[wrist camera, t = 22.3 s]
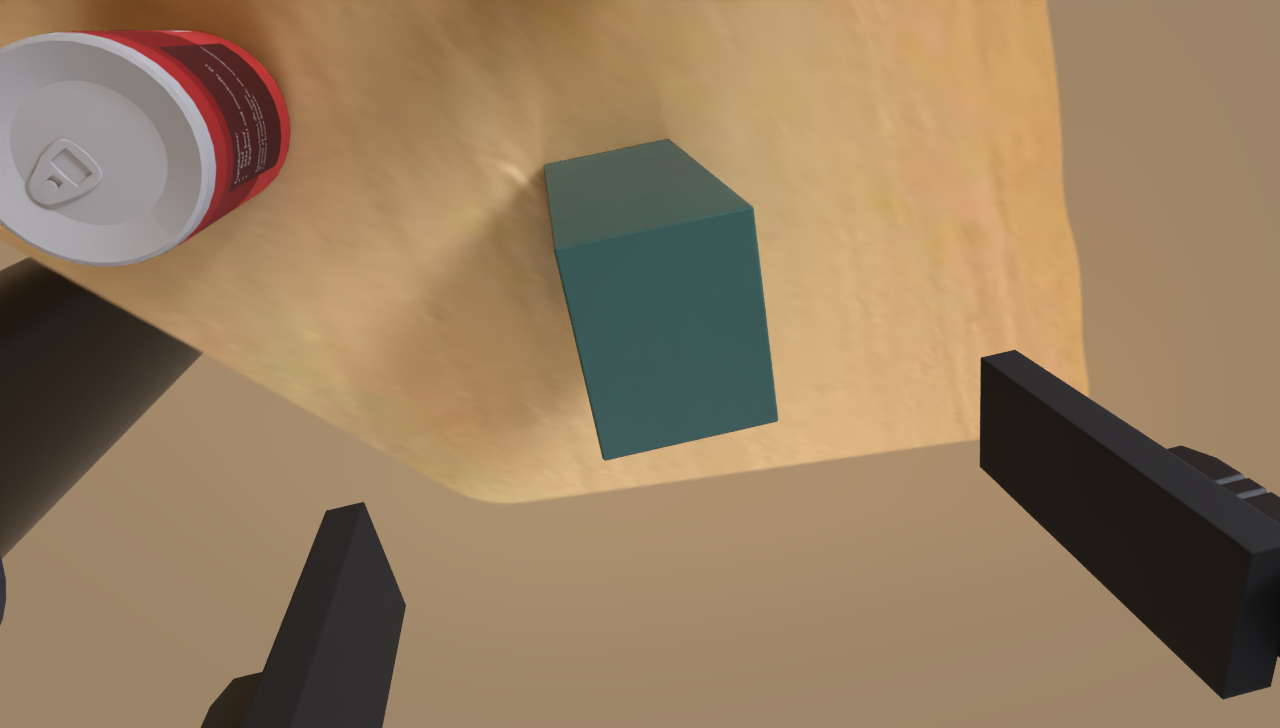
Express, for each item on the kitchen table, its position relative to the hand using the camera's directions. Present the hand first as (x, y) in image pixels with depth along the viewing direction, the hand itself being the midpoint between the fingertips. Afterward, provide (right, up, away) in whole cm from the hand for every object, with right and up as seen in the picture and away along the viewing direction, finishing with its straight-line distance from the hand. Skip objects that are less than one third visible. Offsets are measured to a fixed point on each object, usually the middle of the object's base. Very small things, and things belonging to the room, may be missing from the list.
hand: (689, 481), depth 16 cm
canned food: (-21, +14, +20) cm, 32 cm away
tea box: (-1, +6, +17) cm, 18 cm away
